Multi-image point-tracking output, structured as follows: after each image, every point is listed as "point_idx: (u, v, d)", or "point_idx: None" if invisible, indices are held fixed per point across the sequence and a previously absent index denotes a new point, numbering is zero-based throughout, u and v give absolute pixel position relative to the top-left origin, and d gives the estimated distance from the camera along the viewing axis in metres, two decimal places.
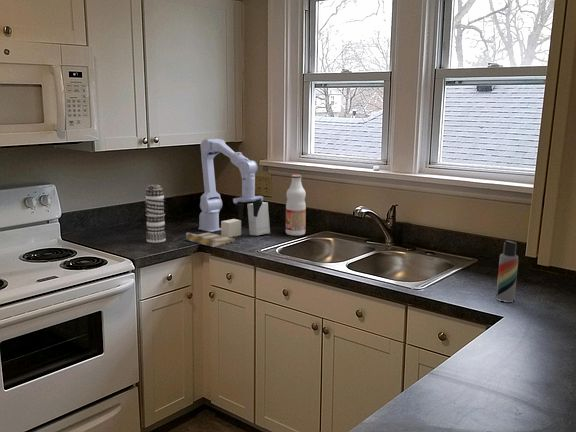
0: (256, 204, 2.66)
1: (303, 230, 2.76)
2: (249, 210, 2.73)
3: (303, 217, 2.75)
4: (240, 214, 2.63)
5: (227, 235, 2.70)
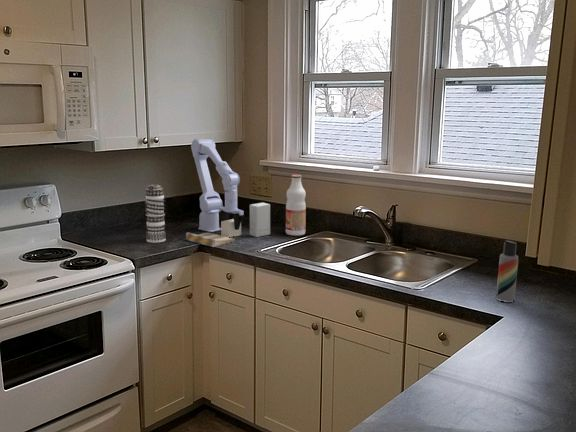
0: None
1: (303, 230, 2.76)
2: (251, 211, 2.71)
3: (303, 217, 2.75)
4: None
5: (227, 235, 2.70)
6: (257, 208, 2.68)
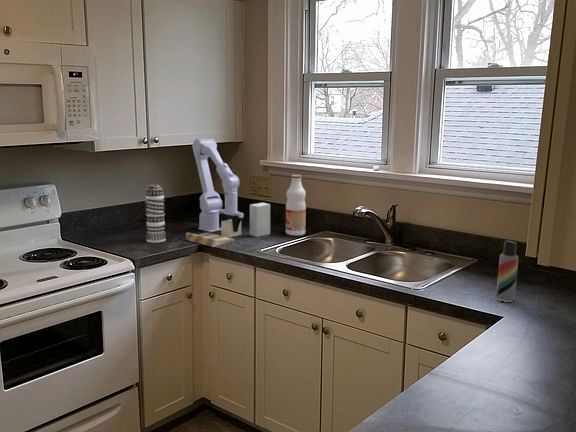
0: None
1: (303, 230, 2.76)
2: (251, 211, 2.71)
3: (303, 217, 2.75)
4: None
5: (227, 235, 2.70)
6: (257, 208, 2.68)
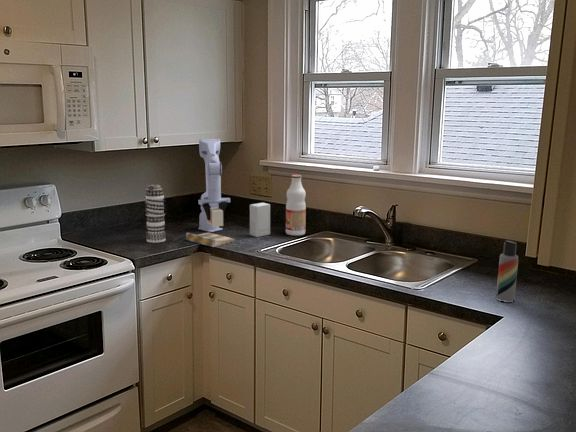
0: (221, 206, 2.64)
1: (303, 230, 2.76)
2: (251, 211, 2.71)
3: (303, 217, 2.75)
4: (207, 215, 2.62)
5: (221, 223, 2.62)
6: (257, 208, 2.68)
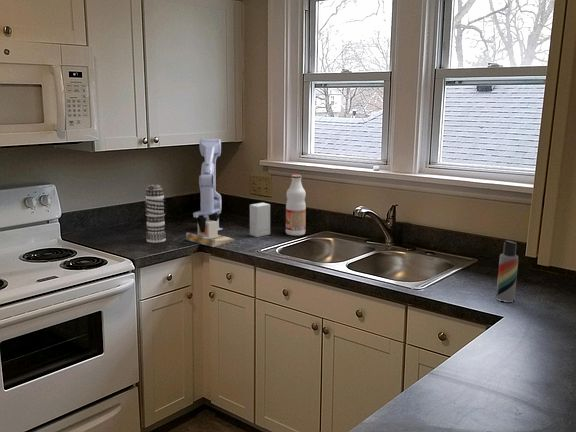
0: (213, 217, 2.63)
1: (303, 230, 2.76)
2: (251, 211, 2.71)
3: (303, 217, 2.75)
4: (202, 228, 2.59)
5: (216, 234, 2.61)
6: (257, 208, 2.68)
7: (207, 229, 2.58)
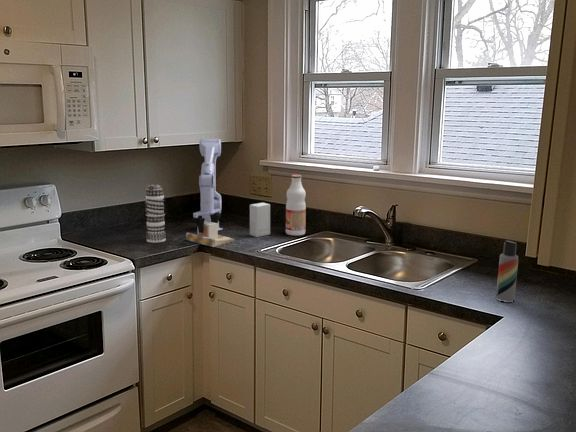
0: (215, 217, 2.63)
1: (303, 230, 2.76)
2: (251, 211, 2.71)
3: (303, 217, 2.75)
4: (200, 228, 2.59)
5: (216, 236, 2.62)
6: (257, 208, 2.68)
7: (207, 231, 2.58)
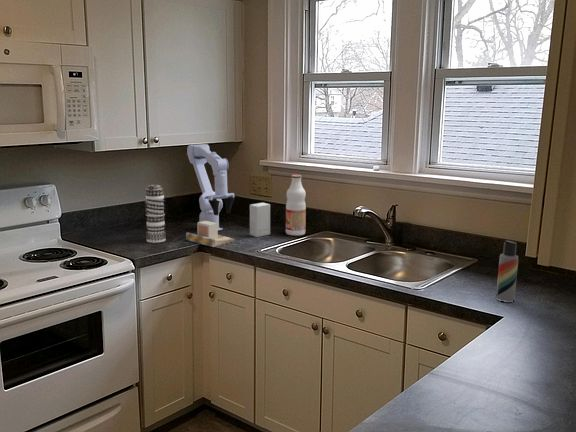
0: (229, 201, 2.74)
1: (303, 230, 2.76)
2: (251, 211, 2.71)
3: (303, 217, 2.75)
4: (215, 211, 2.68)
5: (216, 236, 2.62)
6: (257, 208, 2.68)
7: (207, 231, 2.58)
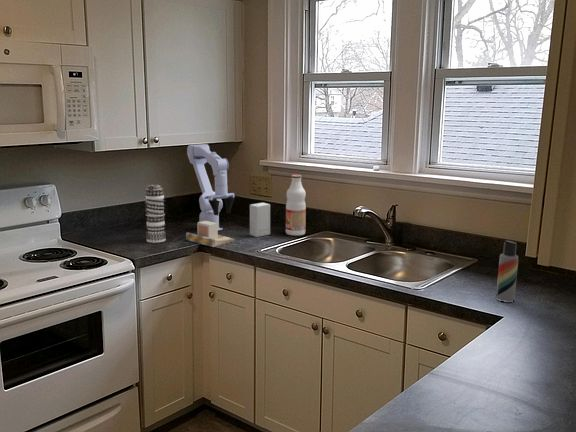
0: (229, 201, 2.74)
1: (303, 230, 2.76)
2: (251, 211, 2.71)
3: (303, 217, 2.75)
4: (215, 211, 2.68)
5: (216, 236, 2.62)
6: (257, 208, 2.68)
7: (207, 231, 2.58)
